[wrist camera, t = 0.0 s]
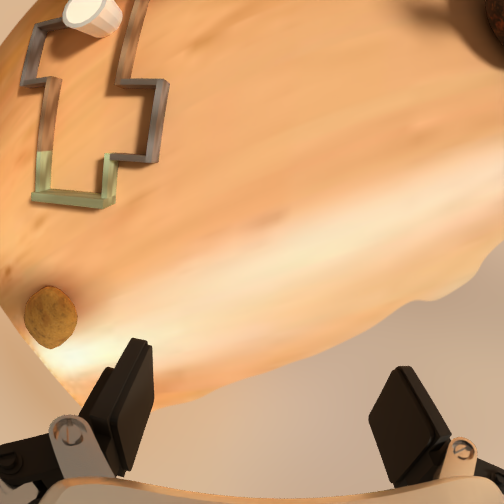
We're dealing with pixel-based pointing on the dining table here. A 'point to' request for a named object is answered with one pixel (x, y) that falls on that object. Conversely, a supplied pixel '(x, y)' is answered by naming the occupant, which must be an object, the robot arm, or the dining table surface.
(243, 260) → the dining table surface
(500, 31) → the glass bottle
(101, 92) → the dining table surface
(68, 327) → the potato
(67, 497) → the robot arm
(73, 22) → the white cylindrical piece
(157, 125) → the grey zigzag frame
